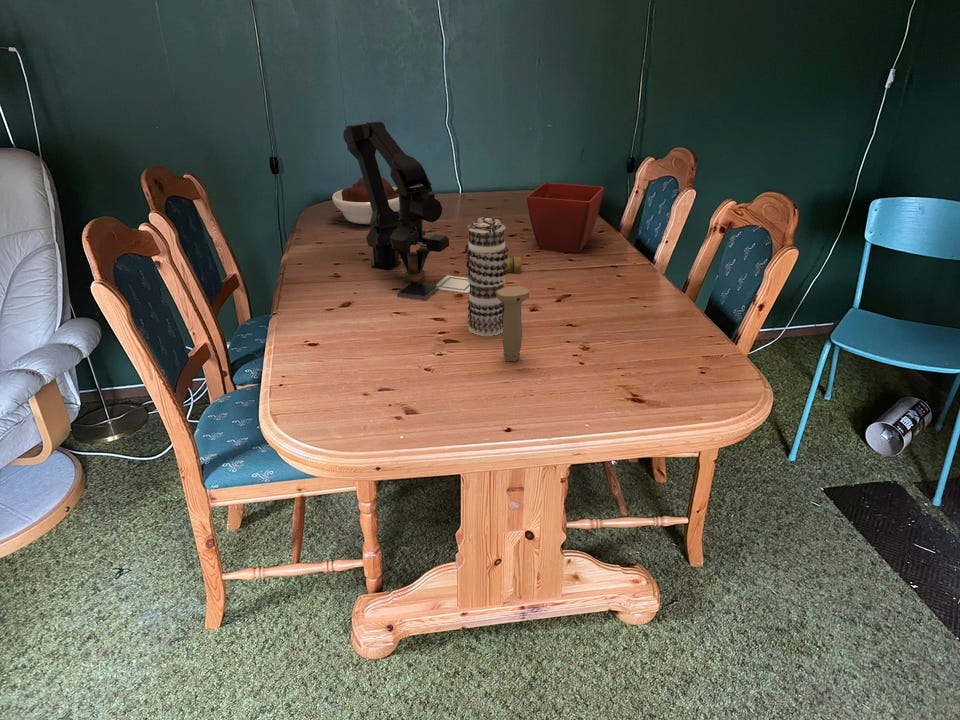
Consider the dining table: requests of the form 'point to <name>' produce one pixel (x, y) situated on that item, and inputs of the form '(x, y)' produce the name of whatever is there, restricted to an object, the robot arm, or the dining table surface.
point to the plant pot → (563, 215)
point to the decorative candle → (486, 275)
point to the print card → (454, 284)
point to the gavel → (513, 264)
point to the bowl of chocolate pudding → (362, 201)
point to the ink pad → (418, 291)
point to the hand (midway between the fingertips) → (414, 271)
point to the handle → (512, 320)
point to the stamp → (413, 269)
